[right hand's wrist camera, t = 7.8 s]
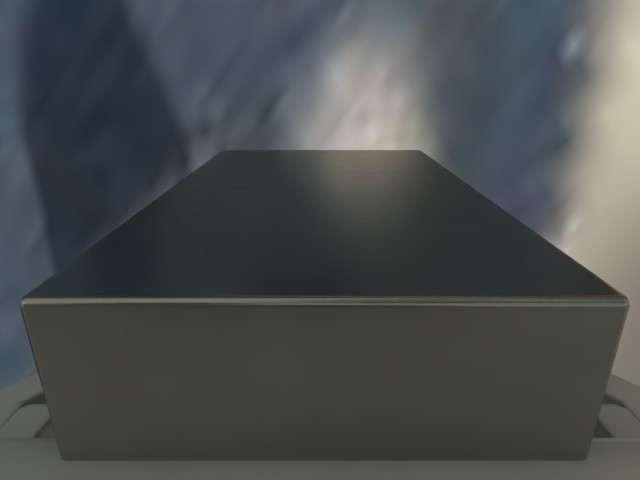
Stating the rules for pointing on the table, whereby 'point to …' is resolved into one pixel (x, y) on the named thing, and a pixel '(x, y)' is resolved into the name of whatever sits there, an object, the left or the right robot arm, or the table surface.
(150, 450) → the box
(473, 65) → the table surface
